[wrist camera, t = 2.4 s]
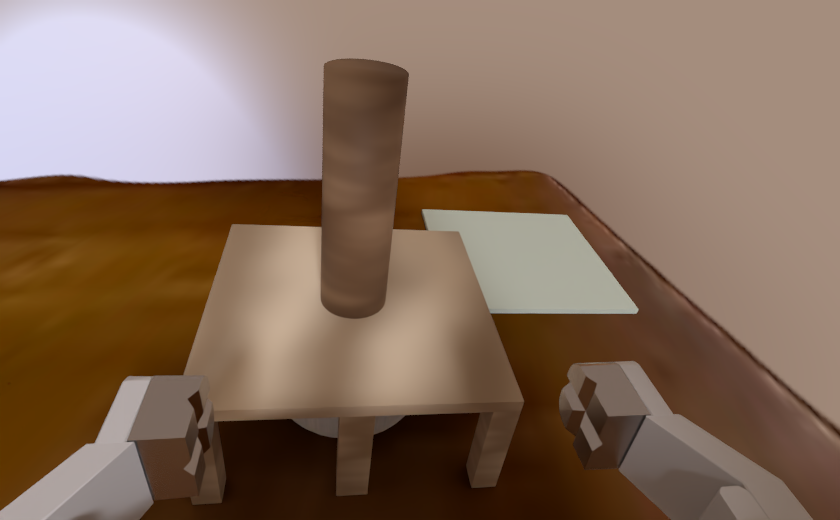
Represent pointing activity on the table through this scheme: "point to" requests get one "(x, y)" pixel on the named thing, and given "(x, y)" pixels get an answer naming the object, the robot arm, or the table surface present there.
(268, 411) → the wooden peg stand
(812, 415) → the table surface
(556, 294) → the mat
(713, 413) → the table surface
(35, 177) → the table surface
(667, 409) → the robot arm
